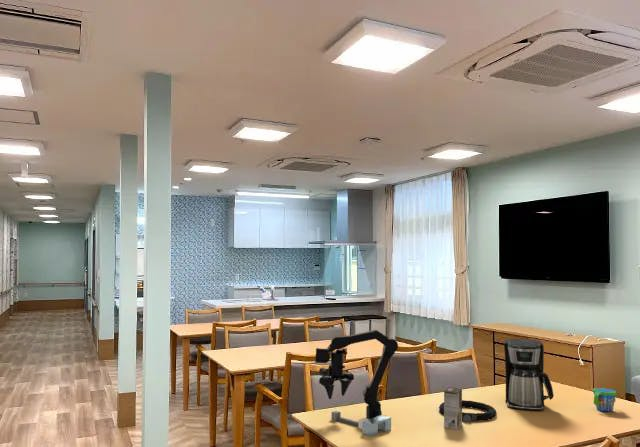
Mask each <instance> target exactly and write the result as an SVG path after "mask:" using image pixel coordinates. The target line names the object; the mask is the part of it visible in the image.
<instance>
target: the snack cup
mask: <svg viewBox="0 0 640 447" xmlns="http://www.w3.org/2000/svg"><path fill="white" fill-rule="evenodd" d="M592 393H593V395H594V396H593V405H595V406H596V407H595V408H596V410H598V411H600V410H601V411H600V412H604V411H608V412H607V413H610V411H611V412H613V411H614V406H615V403H616V396H617V391H616V390H613V389H611V388H601V387H596V388H595V387H594V388H592Z"/></svg>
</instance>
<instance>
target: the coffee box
mask: <svg viewBox="0 0 640 447" xmlns="http://www.w3.org/2000/svg"><path fill="white" fill-rule="evenodd" d="M443 396H444V397H443V398H444V399H443V400H444V401H443V402H444V414H443V428H447V429H452V430H459V429H460V428H461V426H462V425H463V420H462V412H463V407H462V400H463V389H462V388H456V387H451V386H449V387H448V388H446V389H445V390H444V392H443Z"/></svg>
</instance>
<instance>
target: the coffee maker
mask: <svg viewBox="0 0 640 447" xmlns="http://www.w3.org/2000/svg"><path fill="white" fill-rule="evenodd" d="M503 346H504V347H503V349H504V361H505V363H504V364H505V365H504V366H505V401H504V403H505V402H506V403H507V404H506V403H505V404H506V406H507V408H509V407H510V409H515V410H524V411H540V410H541V411H544V409H545V400H547V399H549V401H551V400H553V398H554V390H553V389H554V388H553V385H552V382H551V380H550V377H549V375H548V374H547V373H545V372H544V366H545V365H544V364H545V359H544V357H545V346H544V343H543V342H542V341H540V340H538V339H530V338H507V339H505V340H504V341H503ZM544 387H545V388H544ZM544 390H545V391H546V394H547V395H545V393H544Z"/></svg>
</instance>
